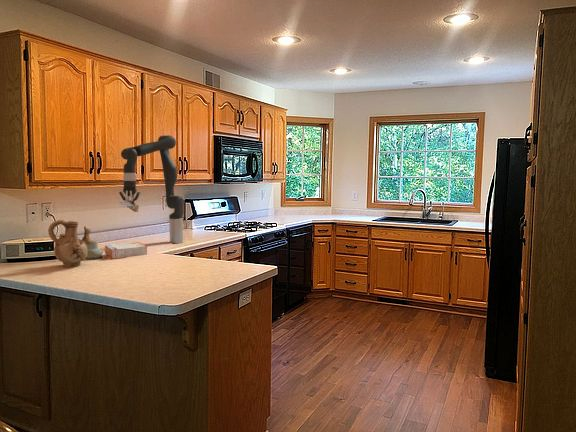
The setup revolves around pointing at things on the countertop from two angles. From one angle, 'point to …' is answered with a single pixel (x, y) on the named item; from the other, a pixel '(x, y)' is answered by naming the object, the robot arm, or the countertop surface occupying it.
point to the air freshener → (93, 251)
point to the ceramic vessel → (70, 243)
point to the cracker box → (125, 250)
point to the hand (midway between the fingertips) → (130, 207)
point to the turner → (128, 204)
